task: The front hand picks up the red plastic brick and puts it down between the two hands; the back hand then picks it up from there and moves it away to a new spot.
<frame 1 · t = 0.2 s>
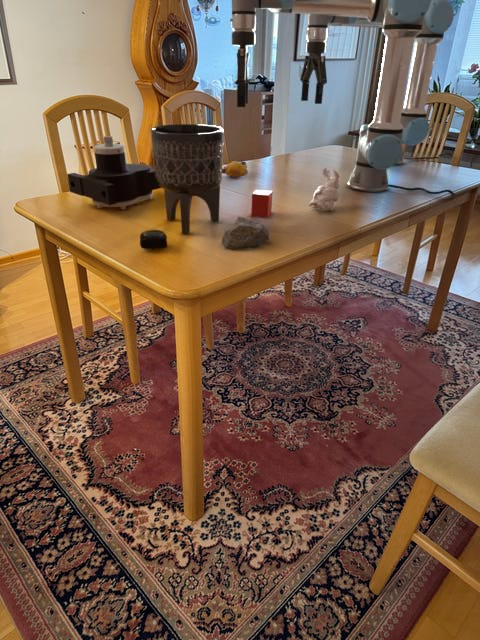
front hand: (242, 105, 154), 29 cm above the table, tool pointing down, fingers open, 13 cm apart
back hand: (311, 102, 185), 28 cm above the table, tool pointing down, fingers open, 13 cm apart
planter: (190, 225, 134), on the table
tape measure: (155, 248, 118), on the table
rock: (247, 244, 122), on the table
mechanical component: (129, 201, 155), on the table
figurine: (323, 209, 151), on the table
brick: (261, 214, 145), on the table
toy: (235, 175, 191), on the table
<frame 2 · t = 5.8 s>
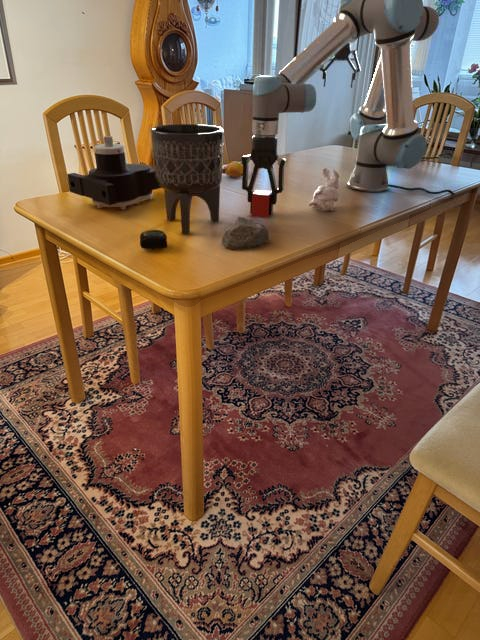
front hand: (261, 213, 145), 0 cm above the table, tool pointing down, fingers closed on brick, 5 cm apart
back hand: (338, 87, 231), 31 cm above the table, tool pointing down, fingers open, 13 cm apart
brick: (261, 214, 145), on the table, touching front hand
everything else where it was.
when the front hand's fingers open (2 cm above the table, at t = 19.9 s): brick drops 1 cm, on the table.
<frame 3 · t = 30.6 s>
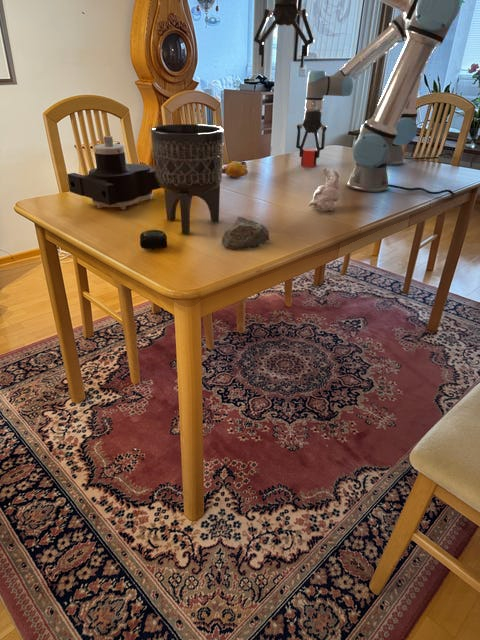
front hand: (282, 67, 156), 41 cm above the table, tool pointing down, fingers open, 13 cm apart
back hand: (308, 164, 212), 0 cm above the table, tool pointing down, fingers closed on brick, 5 cm apart
brick: (308, 165, 212), on the table, touching back hand
everything else where it was.
when the back hand's fingers open (2 cm above the table, at t = 35.9 s): brick drops 1 cm, on the table.
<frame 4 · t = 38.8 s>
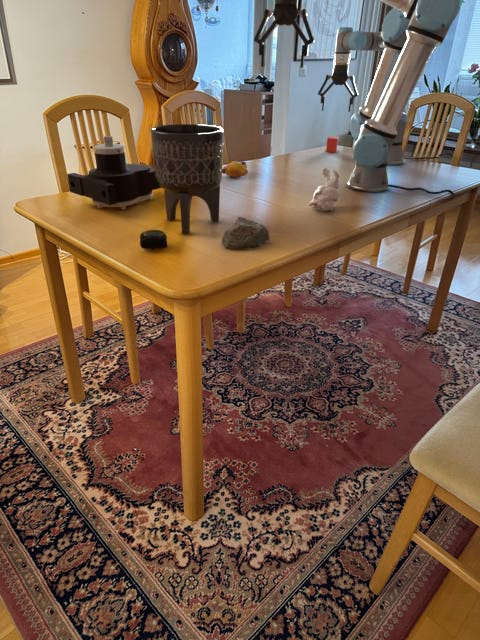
front hand: (282, 67, 156), 41 cm above the table, tool pointing down, fingers open, 13 cm apart
back hand: (335, 111, 236), 20 cm above the table, tool pointing down, fingers open, 13 cm apart
brick: (331, 151, 246), on the table
everything else where it was.
at the end: brick inside the target area (0.1 cm from its centre), on the table; brick tilted 0°; the two hands never held the brick at the same time; the front hand is holding nothing; the back hand is holding nothing; brick at rest at the end (0.0 cm/s) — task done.
